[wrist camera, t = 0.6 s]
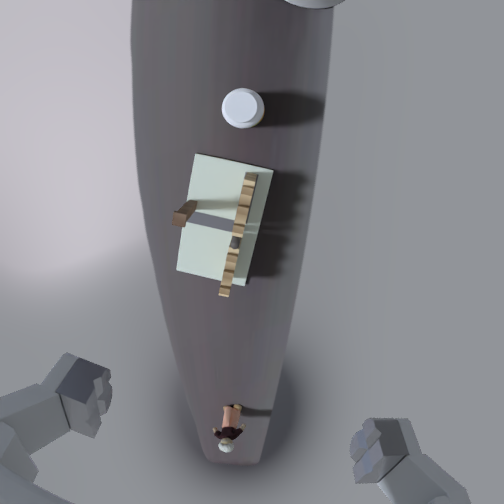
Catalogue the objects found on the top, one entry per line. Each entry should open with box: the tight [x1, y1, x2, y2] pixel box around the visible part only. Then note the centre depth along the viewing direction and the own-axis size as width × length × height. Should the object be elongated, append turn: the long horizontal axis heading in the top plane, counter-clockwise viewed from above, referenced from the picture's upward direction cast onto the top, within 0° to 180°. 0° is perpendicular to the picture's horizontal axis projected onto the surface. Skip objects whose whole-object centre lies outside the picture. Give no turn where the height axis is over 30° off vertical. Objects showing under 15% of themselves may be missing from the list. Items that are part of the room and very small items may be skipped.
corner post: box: [172, 200, 198, 228], centre depth 45 cm, size 2×2×8 cm
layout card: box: [176, 153, 273, 286], centre depth 50 cm, size 20×12×1 cm, turn 167°
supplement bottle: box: [222, 88, 265, 128], centre depth 39 cm, size 5×5×10 cm
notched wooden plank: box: [219, 236, 242, 297], centre depth 48 cm, size 8×2×7 cm, turn 167°
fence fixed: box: [230, 172, 257, 249], centre depth 45 cm, size 10×2×7 cm, turn 167°
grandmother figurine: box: [213, 404, 246, 452], centre depth 62 cm, size 8×4×13 cm, turn 119°
